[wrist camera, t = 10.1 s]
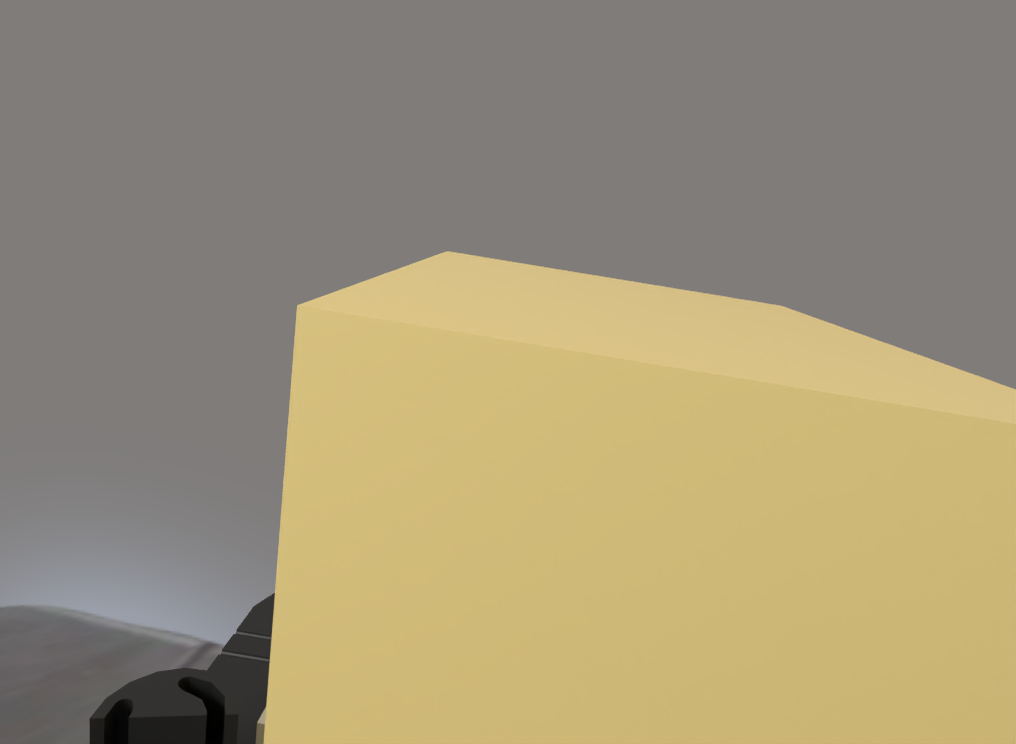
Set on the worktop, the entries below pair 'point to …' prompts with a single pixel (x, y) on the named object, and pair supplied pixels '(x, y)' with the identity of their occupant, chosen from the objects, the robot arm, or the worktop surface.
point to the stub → (633, 522)
